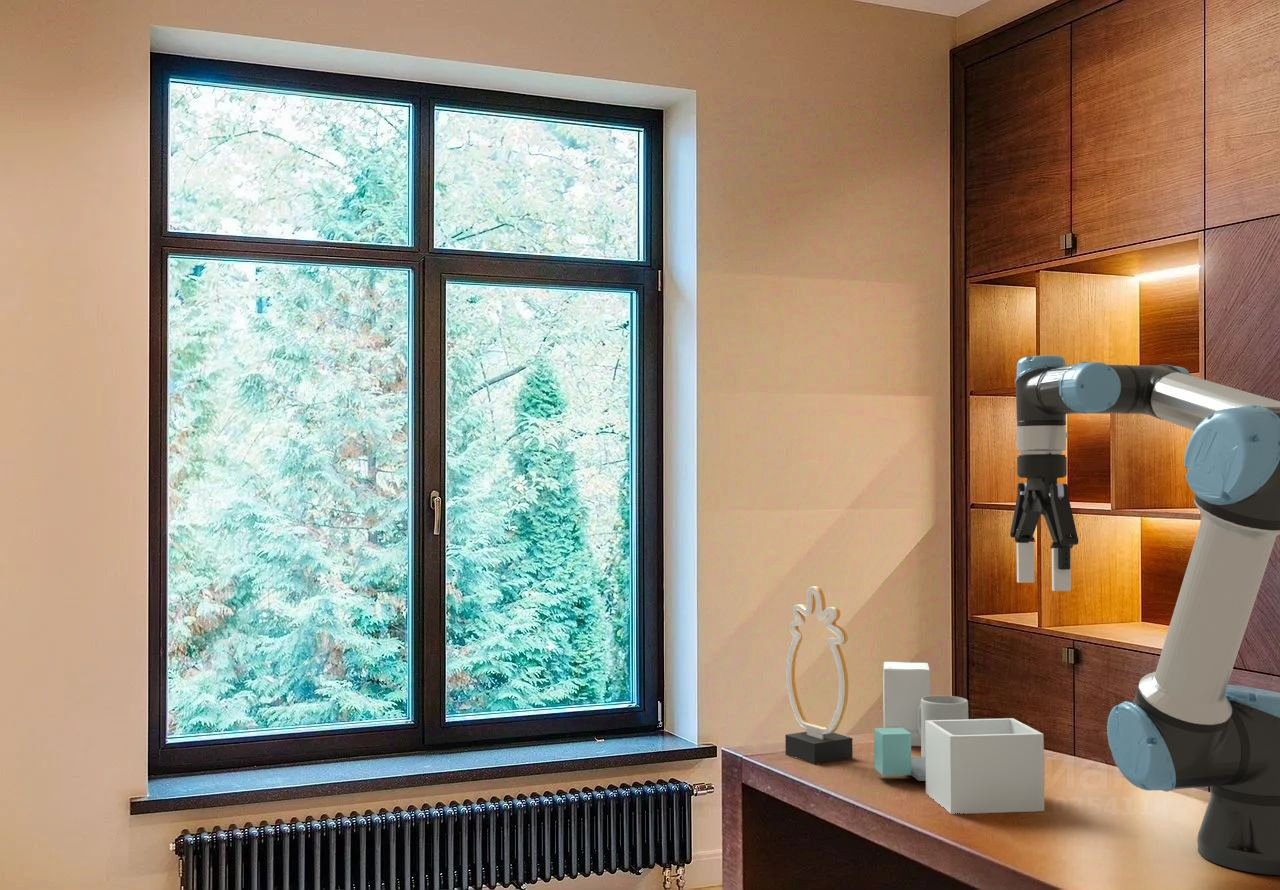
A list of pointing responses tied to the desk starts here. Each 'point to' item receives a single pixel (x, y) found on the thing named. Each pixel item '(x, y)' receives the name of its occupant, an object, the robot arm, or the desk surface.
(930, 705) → the mug
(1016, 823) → the desk surface
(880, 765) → the lid
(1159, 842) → the desk surface
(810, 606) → the lamp
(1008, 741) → the tub
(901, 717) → the supplement box
